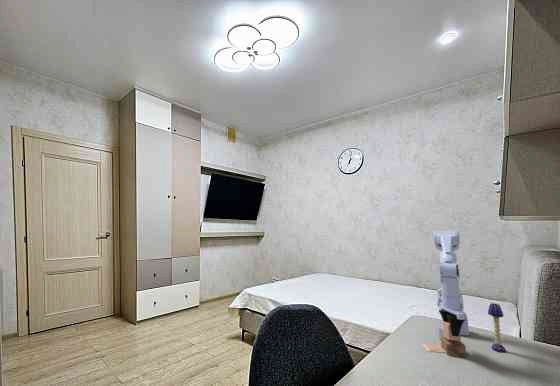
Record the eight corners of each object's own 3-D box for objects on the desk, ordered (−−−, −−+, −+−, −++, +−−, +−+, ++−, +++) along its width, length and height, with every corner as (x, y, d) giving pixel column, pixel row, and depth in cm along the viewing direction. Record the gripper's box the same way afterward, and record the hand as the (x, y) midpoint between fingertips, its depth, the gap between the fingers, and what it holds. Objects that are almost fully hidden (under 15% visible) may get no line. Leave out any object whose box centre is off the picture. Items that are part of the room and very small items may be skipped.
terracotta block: (455, 336, 100) (454, 322, 101) (460, 340, 96) (460, 326, 97) (443, 335, 101) (443, 321, 101) (448, 339, 97) (448, 325, 98)
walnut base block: (459, 350, 100) (458, 338, 101) (466, 357, 94) (465, 345, 95) (441, 348, 102) (440, 337, 102) (447, 355, 96) (446, 343, 96)
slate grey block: (448, 339, 109) (447, 327, 109) (455, 344, 105) (455, 330, 105) (439, 340, 108) (438, 327, 109) (446, 344, 104) (445, 331, 105)
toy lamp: (507, 354, 97) (504, 306, 99) (491, 351, 99) (488, 304, 101) (504, 348, 101) (501, 303, 103) (489, 346, 104) (486, 301, 106)
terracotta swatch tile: (438, 345, 103) (438, 344, 103) (445, 352, 98) (445, 351, 98) (422, 344, 104) (422, 343, 104) (428, 351, 98) (428, 350, 98)
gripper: (430, 290, 108) (432, 325, 107) (448, 300, 94) (450, 340, 92) (449, 291, 107) (451, 326, 106) (470, 301, 93) (472, 342, 91)
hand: (452, 333), depth 99 cm, fingers closed on terracotta block, 4 cm apart
